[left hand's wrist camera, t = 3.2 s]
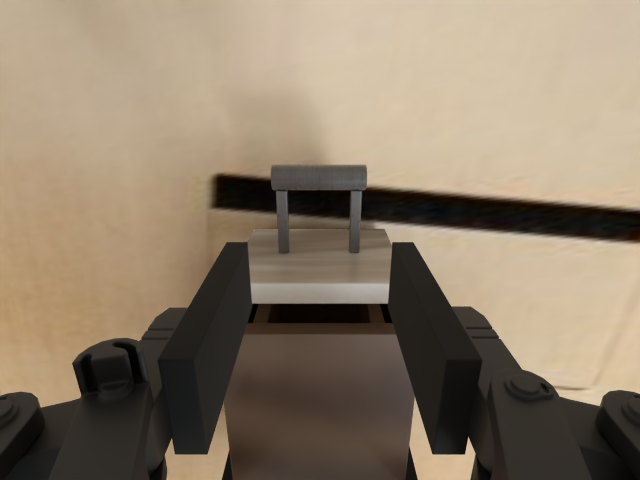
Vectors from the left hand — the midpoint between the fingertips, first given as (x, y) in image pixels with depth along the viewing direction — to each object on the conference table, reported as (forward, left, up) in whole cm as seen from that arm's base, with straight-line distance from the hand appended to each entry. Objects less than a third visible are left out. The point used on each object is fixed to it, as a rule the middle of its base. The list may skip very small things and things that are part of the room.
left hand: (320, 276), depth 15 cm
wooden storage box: (+10, +9, -13) cm, 19 cm away
